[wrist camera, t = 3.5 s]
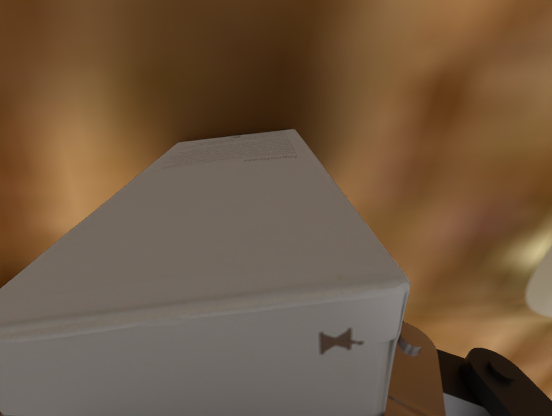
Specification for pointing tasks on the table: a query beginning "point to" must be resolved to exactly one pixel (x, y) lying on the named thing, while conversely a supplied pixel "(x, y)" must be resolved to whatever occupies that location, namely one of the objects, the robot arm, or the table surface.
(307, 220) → the small box
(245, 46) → the table surface
